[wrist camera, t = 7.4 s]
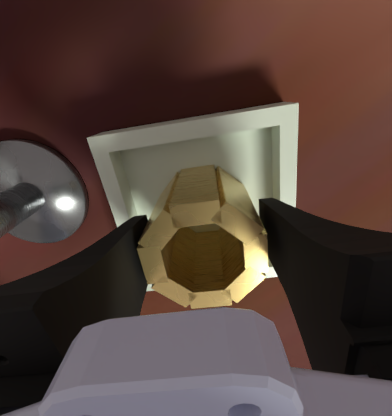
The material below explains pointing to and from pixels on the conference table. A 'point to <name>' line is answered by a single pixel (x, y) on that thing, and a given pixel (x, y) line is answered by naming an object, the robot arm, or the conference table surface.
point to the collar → (204, 240)
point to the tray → (200, 157)
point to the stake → (39, 192)
